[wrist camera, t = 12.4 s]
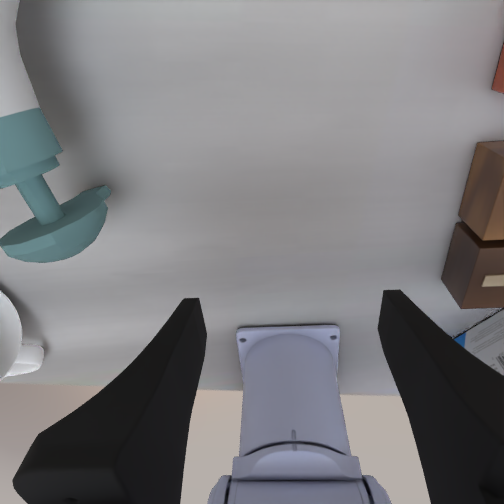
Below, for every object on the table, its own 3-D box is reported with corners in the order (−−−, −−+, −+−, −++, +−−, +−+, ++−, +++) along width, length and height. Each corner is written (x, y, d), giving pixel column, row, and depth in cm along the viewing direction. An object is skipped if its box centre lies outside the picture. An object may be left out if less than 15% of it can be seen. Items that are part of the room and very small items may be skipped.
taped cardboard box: (508, 276, 24) (538, 307, 21) (440, 279, 24) (461, 310, 22) (532, 218, 22) (568, 245, 19) (455, 222, 22) (480, 249, 19)
